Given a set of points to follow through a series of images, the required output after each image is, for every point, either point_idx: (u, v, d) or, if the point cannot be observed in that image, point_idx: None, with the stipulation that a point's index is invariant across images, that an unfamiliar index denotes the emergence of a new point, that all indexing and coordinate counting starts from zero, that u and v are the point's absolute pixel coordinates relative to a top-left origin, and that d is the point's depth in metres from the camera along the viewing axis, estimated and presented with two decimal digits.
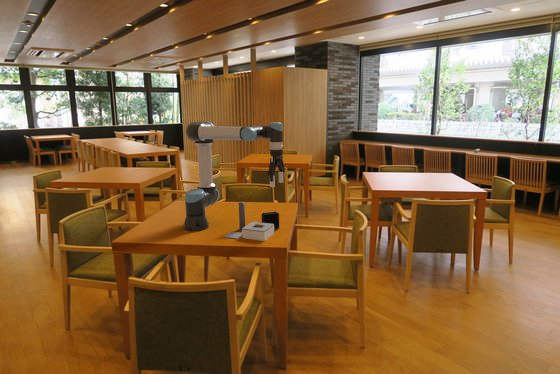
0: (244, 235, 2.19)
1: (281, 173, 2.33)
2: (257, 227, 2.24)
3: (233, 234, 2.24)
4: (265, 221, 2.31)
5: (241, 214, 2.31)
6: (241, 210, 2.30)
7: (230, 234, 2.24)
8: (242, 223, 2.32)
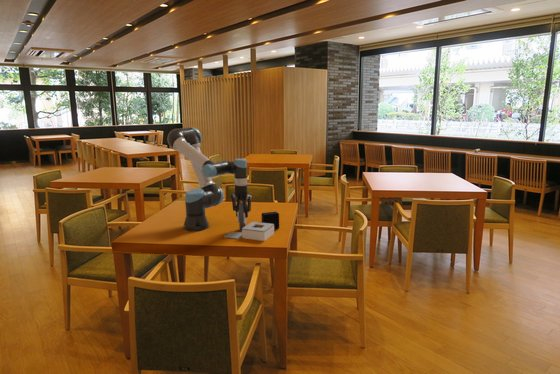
0: (244, 235, 2.19)
1: None
2: (257, 227, 2.24)
3: (233, 234, 2.24)
4: (265, 221, 2.31)
5: (241, 214, 2.31)
6: (241, 210, 2.30)
7: (230, 234, 2.24)
8: (242, 223, 2.32)
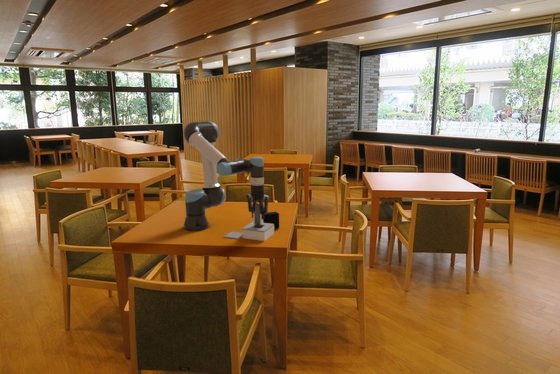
0: (244, 235, 2.19)
1: None
2: None
3: (233, 234, 2.24)
4: (265, 221, 2.31)
5: (258, 216, 2.19)
6: (257, 211, 2.18)
7: (230, 234, 2.24)
8: (258, 225, 2.20)
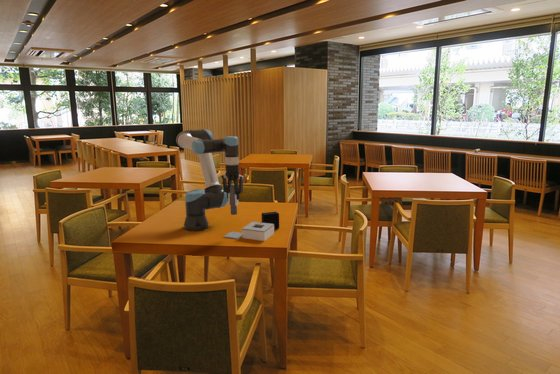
0: (244, 235, 2.19)
1: None
2: None
3: (233, 234, 2.24)
4: (265, 221, 2.31)
5: (233, 198, 2.17)
6: (232, 193, 2.16)
7: (230, 234, 2.24)
8: (233, 207, 2.18)
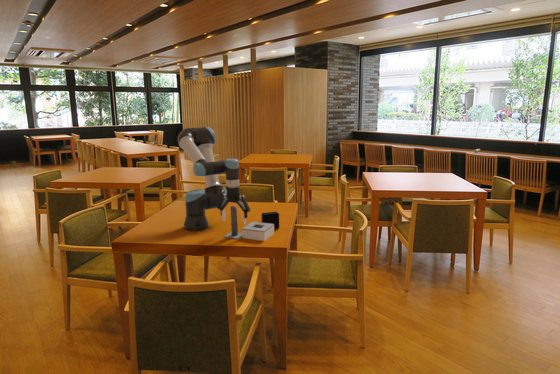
0: (244, 235, 2.19)
1: None
2: None
3: None
4: (265, 221, 2.31)
5: (233, 219, 2.19)
6: (233, 215, 2.19)
7: (230, 234, 2.24)
8: (234, 228, 2.21)
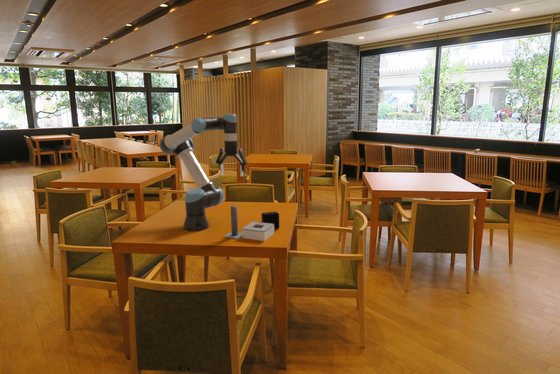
0: (244, 235, 2.19)
1: None
2: None
3: None
4: (265, 221, 2.31)
5: (234, 219, 2.19)
6: (233, 215, 2.19)
7: (230, 234, 2.24)
8: (234, 228, 2.21)
